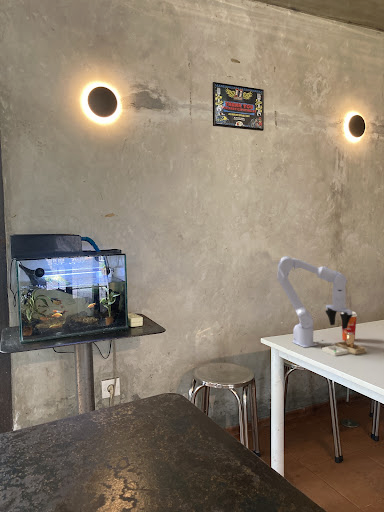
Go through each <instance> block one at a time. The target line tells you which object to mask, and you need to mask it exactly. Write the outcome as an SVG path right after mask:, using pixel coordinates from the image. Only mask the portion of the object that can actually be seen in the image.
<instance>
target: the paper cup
mask: <svg viewBox="0 0 384 512" xmlns="http://www.w3.org/2000/svg"><path fill="white" fill-rule="evenodd" d="M340 314H344V313H342V312H340ZM357 317H358V315H357V312H355V311H352V317H351V318H350V320H349V323H348V326H347V329H343V328H342V327H341V334H342V336H341V337H342V341H346V337H347V334H348V333H352V334H354V341H355V340H356V339H355V337H356V327H357V326H356V325H357Z"/></svg>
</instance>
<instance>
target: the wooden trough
mask: <svg viewBox="0 0 384 512" xmlns="http://www.w3.org/2000/svg"><path fill="white" fill-rule="evenodd" d="M334 345H336V346H338V347H341V348H344V349H347V350H348V354H352V355H354V356H357V355H362V354H366V353H367V348H366V347H363V346H360V345H358V344H355V343H354V349H353V348H350V347H347V346H346V341H344V340H342V341H339V342H334Z"/></svg>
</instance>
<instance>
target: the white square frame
mask: <svg viewBox="0 0 384 512" xmlns="http://www.w3.org/2000/svg"><path fill="white" fill-rule="evenodd" d="M321 352H323V353H326V354H329V355H331V356H333V357H337V356H343V355H347V354H349V353H348V350H347V349H344V348H341V347H338V346H336V345H335V344H334V345H329V346H325V347H321Z"/></svg>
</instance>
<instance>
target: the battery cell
mask: <svg viewBox="0 0 384 512" xmlns="http://www.w3.org/2000/svg"><path fill="white" fill-rule="evenodd" d="M354 344H355V340H354V334H352V333H348V334H347V337H346V346H347V347H350V348H353V349H354Z"/></svg>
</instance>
